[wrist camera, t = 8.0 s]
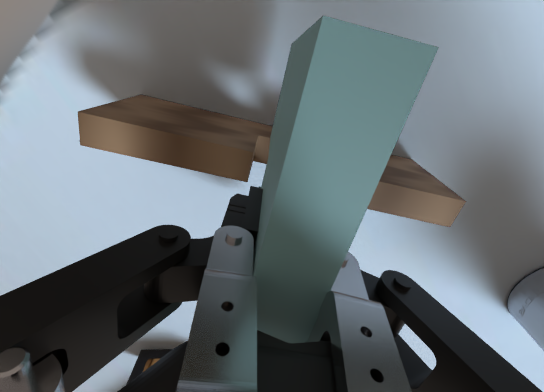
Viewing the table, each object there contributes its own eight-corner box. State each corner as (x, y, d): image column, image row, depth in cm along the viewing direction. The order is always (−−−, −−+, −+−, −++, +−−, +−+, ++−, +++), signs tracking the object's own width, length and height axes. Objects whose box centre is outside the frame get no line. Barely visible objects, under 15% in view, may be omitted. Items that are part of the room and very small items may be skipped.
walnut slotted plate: (412, 159, 25) (465, 201, 18) (402, 179, 26) (450, 227, 19) (140, 94, 23) (77, 111, 16) (140, 118, 24) (80, 145, 17)
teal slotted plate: (326, 53, 15) (438, 47, 5) (270, 251, 22) (262, 444, 11) (291, 43, 15) (323, 15, 4) (244, 246, 21) (211, 437, 11)
